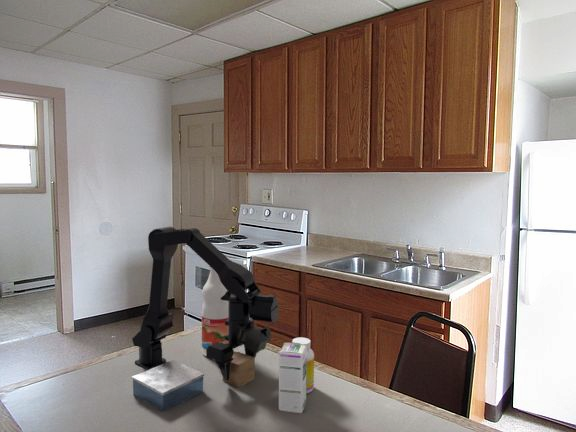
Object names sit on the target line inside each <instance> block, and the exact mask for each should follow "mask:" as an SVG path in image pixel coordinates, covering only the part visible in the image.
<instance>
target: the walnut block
mask: <svg viewBox="0 0 576 432" xmlns="http://www.w3.org/2000/svg"><path fill="white" fill-rule="evenodd" d="M232 358H234V359H233V360H232V361H231V362H230V373H229V380H228V381H226V380H224V377H223V376H222V381H223V382H226V383H228V384H231V385H232V386H235V387H238V388H240V387H243V386H244V385H247V383H250V382H252V381H253V380H254V379H255V373H256V372H255V369H256V367H255V365H256V364H255V363H256V362H255V361H256V357H252V356H249V355H246V354H245V353H243V352H239V351H237V352H235V353H234V352H233V356H232Z"/></svg>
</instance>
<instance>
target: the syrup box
mask: <svg viewBox="0 0 576 432" xmlns="http://www.w3.org/2000/svg"><path fill="white" fill-rule="evenodd" d="M306 372H307V345H305V344H300V343H292V342H283V345H282V346H281V348H280V349H279V351H278V410H279V411H281V412H287V413H296V414H303V411H304V409H305V407H306V403H307V394H306V376H307V374H306Z"/></svg>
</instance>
